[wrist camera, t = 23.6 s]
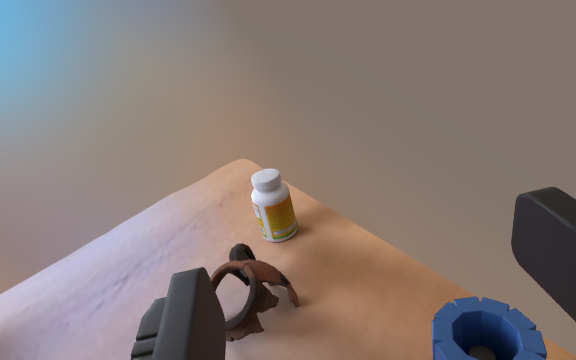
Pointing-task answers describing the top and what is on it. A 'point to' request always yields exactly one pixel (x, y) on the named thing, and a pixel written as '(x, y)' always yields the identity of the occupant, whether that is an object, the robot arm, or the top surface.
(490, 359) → the stand
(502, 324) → the fluted pencil holder
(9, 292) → the top surface
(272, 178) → the supplement bottle
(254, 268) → the brown curved piece
